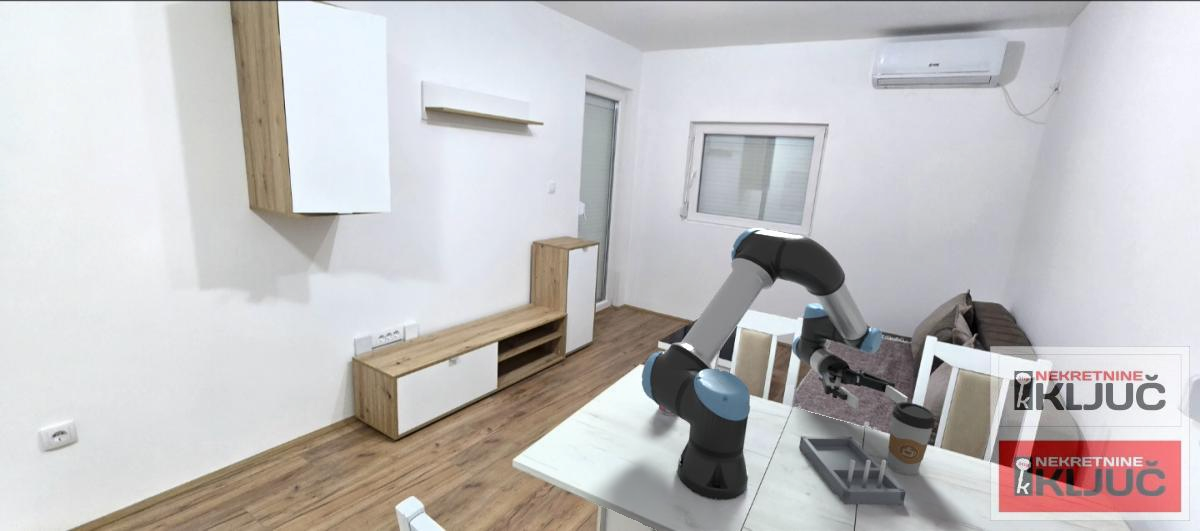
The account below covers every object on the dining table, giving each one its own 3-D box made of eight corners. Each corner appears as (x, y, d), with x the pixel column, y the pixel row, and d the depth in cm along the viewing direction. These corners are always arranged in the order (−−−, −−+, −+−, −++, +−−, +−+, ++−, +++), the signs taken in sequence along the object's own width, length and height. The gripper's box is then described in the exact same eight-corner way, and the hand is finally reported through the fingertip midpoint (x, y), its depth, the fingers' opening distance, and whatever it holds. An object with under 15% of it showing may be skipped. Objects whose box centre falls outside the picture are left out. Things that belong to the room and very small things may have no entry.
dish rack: (799, 446, 118) (803, 419, 117) (849, 447, 119) (854, 420, 118) (844, 504, 99) (850, 472, 97) (903, 504, 100) (910, 473, 98)
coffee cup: (882, 470, 111) (895, 412, 108) (881, 452, 118) (892, 397, 115) (925, 483, 107) (939, 423, 104) (920, 463, 114) (933, 407, 111)
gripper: (865, 376, 143) (922, 414, 123) (789, 379, 139) (834, 418, 119) (870, 353, 141) (928, 388, 121) (792, 355, 137) (839, 391, 117)
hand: (881, 403), depth 120 cm, fingers open, 13 cm apart
